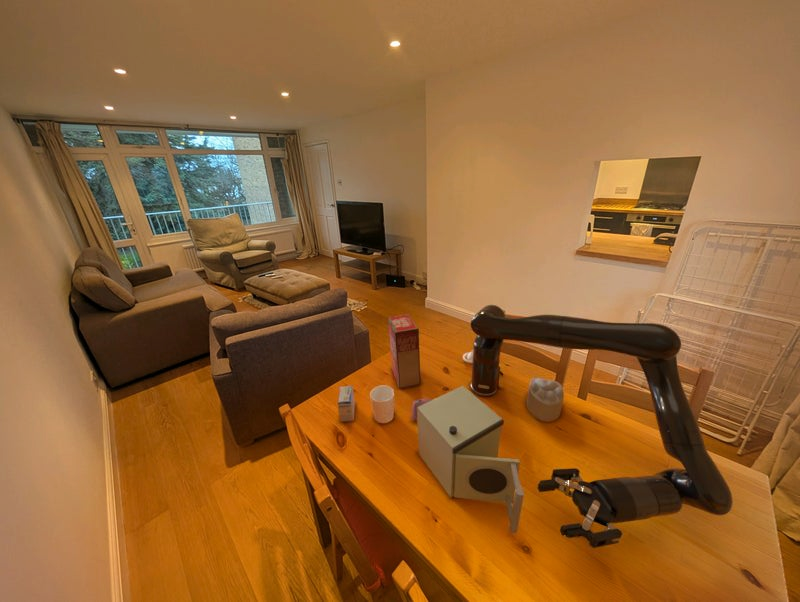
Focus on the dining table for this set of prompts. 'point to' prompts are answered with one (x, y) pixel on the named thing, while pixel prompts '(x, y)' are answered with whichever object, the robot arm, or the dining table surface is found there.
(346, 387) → the medicine box
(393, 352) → the food packaging
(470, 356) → the ring around a ball
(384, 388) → the white cup
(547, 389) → the lumpy-topped squat cylinder
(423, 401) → the video game controller
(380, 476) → the dining table surface
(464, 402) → the washer
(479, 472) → the washer door
